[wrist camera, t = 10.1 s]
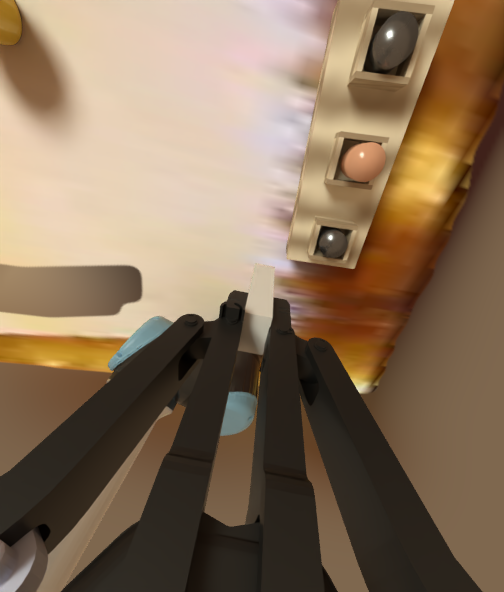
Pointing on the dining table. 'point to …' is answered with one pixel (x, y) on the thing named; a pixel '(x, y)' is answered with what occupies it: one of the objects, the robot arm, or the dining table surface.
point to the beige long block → (357, 122)
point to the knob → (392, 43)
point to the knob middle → (363, 161)
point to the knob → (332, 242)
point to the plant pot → (9, 23)
